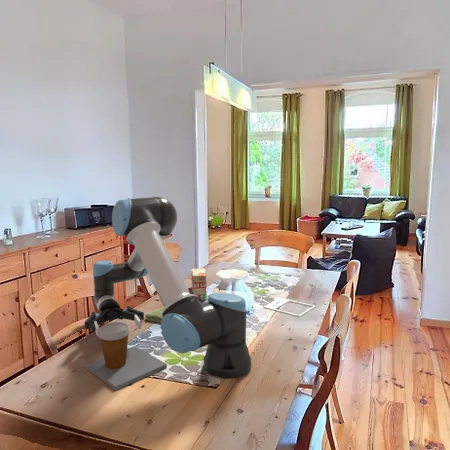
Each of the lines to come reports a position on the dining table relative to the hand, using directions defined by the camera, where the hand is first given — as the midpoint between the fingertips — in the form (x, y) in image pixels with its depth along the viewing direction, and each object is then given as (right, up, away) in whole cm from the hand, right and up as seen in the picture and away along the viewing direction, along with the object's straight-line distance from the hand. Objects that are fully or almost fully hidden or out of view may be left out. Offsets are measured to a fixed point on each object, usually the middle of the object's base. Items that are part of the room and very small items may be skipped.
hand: (119, 328), depth 134 cm
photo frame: (+64, -3, +45) cm, 78 cm away
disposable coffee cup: (+1, -10, -7) cm, 12 cm away
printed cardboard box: (+22, +1, +65) cm, 68 cm away
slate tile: (+4, -11, -7) cm, 13 cm away
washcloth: (+12, -5, +33) cm, 36 cm away
